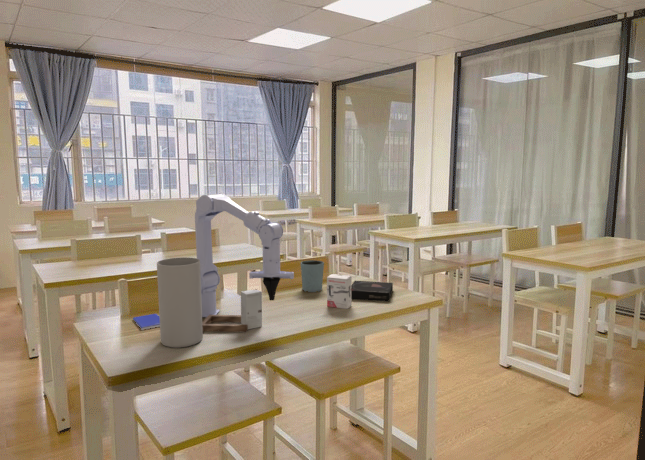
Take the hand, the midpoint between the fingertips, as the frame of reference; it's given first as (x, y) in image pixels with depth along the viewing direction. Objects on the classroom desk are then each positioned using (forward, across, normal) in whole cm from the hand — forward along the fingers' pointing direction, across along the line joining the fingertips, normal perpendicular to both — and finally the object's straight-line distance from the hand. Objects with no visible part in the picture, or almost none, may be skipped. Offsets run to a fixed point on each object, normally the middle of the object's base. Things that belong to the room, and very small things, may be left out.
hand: (272, 299), depth 159 cm
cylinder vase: (+10, -26, -14) cm, 31 cm away
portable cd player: (+10, +35, +41) cm, 55 cm away
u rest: (+9, -15, 0) cm, 18 cm away
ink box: (+10, +22, +24) cm, 34 cm away
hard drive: (+10, -43, +2) cm, 44 cm away
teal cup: (+10, +10, +48) cm, 50 cm away
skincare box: (+10, -7, 0) cm, 12 cm away
